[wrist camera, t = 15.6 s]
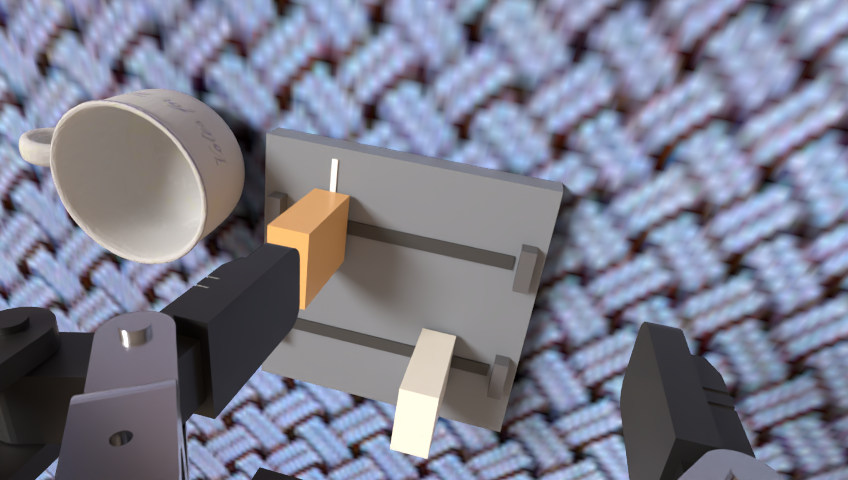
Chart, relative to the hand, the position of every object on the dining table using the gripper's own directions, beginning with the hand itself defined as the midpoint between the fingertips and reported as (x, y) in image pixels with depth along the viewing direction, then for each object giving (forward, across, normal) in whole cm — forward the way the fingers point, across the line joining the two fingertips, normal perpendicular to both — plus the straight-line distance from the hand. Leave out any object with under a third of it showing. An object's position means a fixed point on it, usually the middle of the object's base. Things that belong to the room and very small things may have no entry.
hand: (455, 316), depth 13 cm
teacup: (+24, +25, +6) cm, 35 cm away
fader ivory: (+22, +4, +18) cm, 29 cm away
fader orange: (+22, +12, +9) cm, 26 cm away
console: (+24, +7, +14) cm, 29 cm away
